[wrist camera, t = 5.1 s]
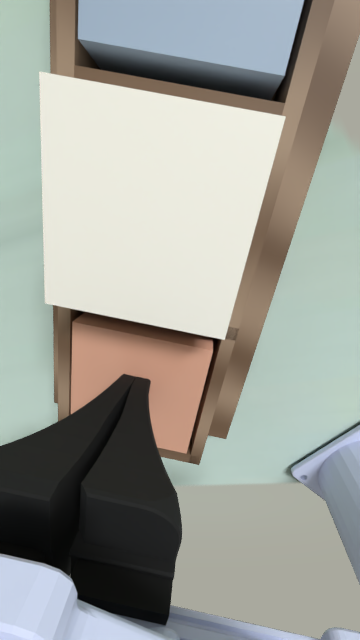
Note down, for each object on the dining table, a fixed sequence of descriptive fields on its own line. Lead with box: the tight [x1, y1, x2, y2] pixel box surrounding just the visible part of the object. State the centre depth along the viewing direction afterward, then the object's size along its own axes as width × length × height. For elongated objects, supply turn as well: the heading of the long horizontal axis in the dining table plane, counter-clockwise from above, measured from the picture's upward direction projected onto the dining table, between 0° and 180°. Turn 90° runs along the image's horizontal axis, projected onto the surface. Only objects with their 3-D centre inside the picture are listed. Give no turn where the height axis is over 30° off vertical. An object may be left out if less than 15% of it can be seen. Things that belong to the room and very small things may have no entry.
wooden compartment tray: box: [50, 0, 360, 465], centre depth 12 cm, size 26×12×4 cm, turn 170°
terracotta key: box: [71, 312, 213, 454], centre depth 14 cm, size 6×6×3 cm
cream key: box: [39, 71, 286, 340], centre depth 9 cm, size 6×6×3 cm
